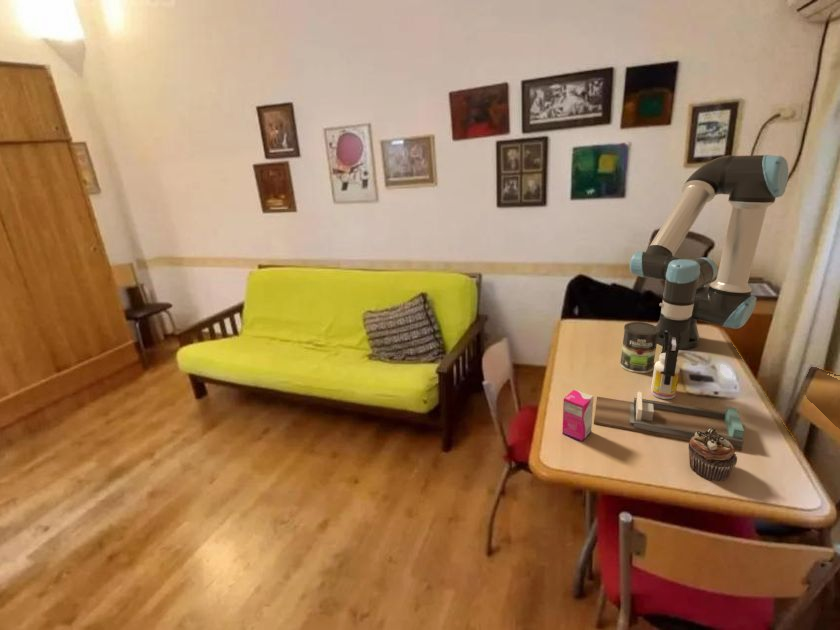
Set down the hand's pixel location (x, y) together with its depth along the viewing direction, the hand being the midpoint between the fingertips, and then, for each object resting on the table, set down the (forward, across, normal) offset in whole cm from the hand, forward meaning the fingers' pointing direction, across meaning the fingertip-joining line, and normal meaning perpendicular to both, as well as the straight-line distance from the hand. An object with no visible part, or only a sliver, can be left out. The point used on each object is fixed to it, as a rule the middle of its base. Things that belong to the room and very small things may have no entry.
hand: (663, 385), depth 131 cm
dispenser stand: (+3, +15, 0) cm, 15 cm away
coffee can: (+3, -16, -7) cm, 18 cm away
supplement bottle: (+3, 0, 0) cm, 3 cm away
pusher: (+2, +15, -6) cm, 16 cm away
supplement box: (+3, +27, -22) cm, 35 cm away
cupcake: (+3, +31, +8) cm, 32 cm away
